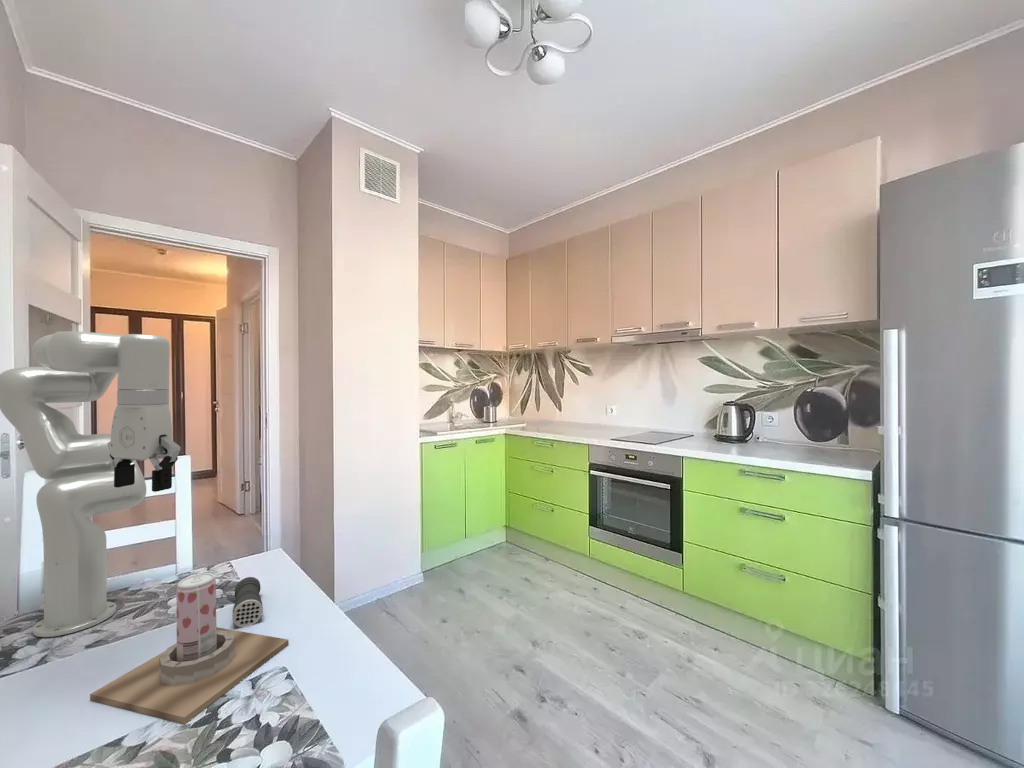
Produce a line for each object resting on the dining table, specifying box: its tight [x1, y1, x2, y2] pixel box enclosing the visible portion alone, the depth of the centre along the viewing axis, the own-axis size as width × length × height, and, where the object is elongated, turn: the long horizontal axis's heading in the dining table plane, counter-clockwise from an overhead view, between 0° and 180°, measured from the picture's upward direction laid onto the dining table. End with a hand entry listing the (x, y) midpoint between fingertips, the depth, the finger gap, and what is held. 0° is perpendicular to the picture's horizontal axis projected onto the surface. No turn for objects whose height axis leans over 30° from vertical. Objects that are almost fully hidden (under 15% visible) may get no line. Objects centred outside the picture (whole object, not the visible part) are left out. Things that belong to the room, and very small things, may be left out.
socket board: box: [89, 626, 290, 725], centre depth 75 cm, size 20×20×4 cm
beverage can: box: [175, 572, 217, 662], centre depth 75 cm, size 6×6×15 cm
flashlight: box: [231, 576, 264, 628], centre depth 95 cm, size 15×5×5 cm, turn 32°
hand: (142, 487), depth 81 cm, fingers open, 9 cm apart
